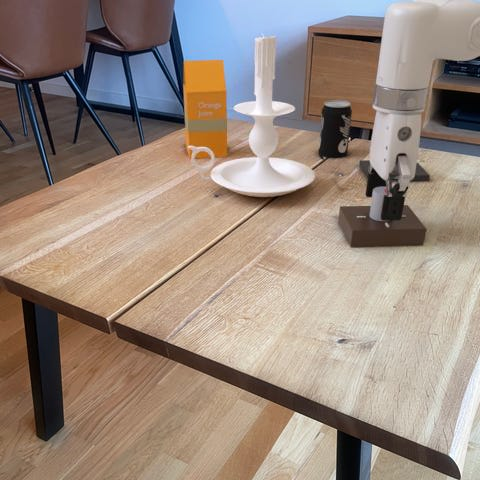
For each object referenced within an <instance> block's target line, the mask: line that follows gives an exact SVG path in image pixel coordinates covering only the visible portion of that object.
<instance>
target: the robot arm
mask: <svg viewBox="0 0 480 480" xmlns="http://www.w3.org/2000/svg"><path fill="white" fill-rule="evenodd" d="M381 34H382V35H381V41H380V49H379V56H378V57H379V58H378V64H377V71H376V81H375V86H374V94H373V100H372V109H374V110H375V111H376V113H375V118H374V123H373V127H372V132H371V133H372V134H371V139H370V146H369V155H368V156H369V160H370V163H371V164H370V166H369V173H372V174H368V178H367V180H366V187H365V197H366V198H372V194H373V189H374V188H376V187H386V192H387V195H384V198H383V205H382V211H381V219H382V220H383V221H386V220H401V218H402V212H403V207H404V205H405V201H406V197H407V194H408V190H409V188H410V187H409V184H410V183H411V182H410V180H412V179H413V178H414V176H415V170H416V164H417V163H418V158H419V157H418V155H419V150H420V141H421V133H422V132H421V131H422V130H421V129H422V113H423V112H425V107H426V103H427V97H428V91H429V86H430V80H431V76H432V71H433V64H434V61H435V60H449V61H457V62H465V61H467V62H468V61H470V60H471V61H472V60H474V59H476V58H478V57H480V1H478V0H412V1H397V2H394V3H391V5H389V6H388V7H387V9H386V11H385V13H384V20H383V26H382V33H381ZM390 174H399V176H390ZM393 183H395V184H394V185H393Z"/></svg>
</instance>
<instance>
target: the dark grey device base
mask: <svg viewBox="0 0 480 480" xmlns="http://www.w3.org/2000/svg"><path fill="white" fill-rule="evenodd" d="M370 164H371V163H370V160H368V159H367V160H365V159H364V160H363V159H362V160H361V159H360V160H359V164H358V167H359V169H360V171H362V173H363V174H364V175H365V177H366V178H367V179H368V174H372V173H369V166H370ZM390 176H399V174H390ZM430 176H431V174H429V172H427V170H425V169H424V168H423V167H422V165H420V164H419V163H418V162H417V164H416V170H415V176H414V178H413V179H412V180H410V182H409V183H412V182H416V183H417V182H429V181H430V178H431V177H430Z"/></svg>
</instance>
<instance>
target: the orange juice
mask: <svg viewBox="0 0 480 480" xmlns="http://www.w3.org/2000/svg"><path fill="white" fill-rule="evenodd" d="M182 80H183V81H182V82H183V83H182V84H183V85H182V87H183V88H182V89H183V105H184V106H183V108H184V109H183V110H184V112H183V113H184V124H185V125H184V126H185V127H184V128H185V147H186V151H187V154H188V155H187V156H188V158H189V159H190V160H191V157H192V153H193V151H192V150H191V149H189V148H188V146H194V147H207V148H209V149H210V150H211V151H212V152H213V154H214V157H215V158H227V157H228V117H227V116H228V111H227V110H228V109H227V107H228V105H227V103H228V102H227V101H228V100H227V99H228V98H227V86H226V75H225V66H224V59H203V60H202V59H201V60H200V59H199V60H183V79H182ZM195 159H211V156H210V154H209V153H207V152H205V151H200V152H198V153H197V154H196V155H195Z"/></svg>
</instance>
